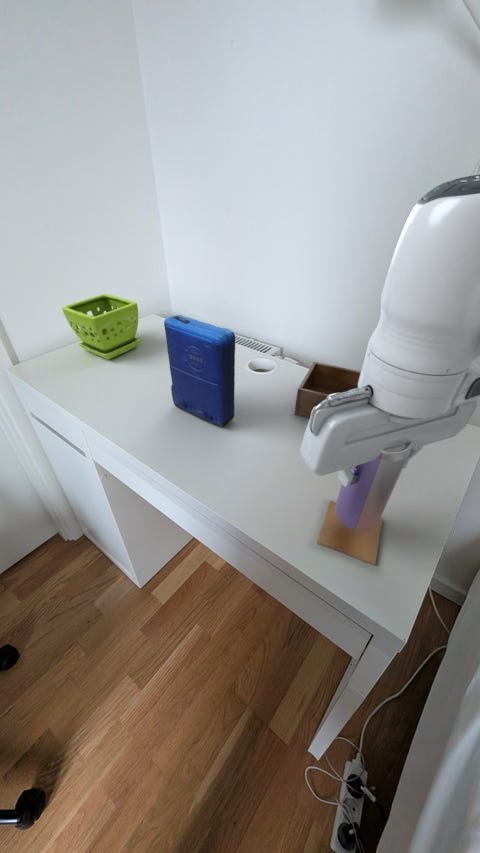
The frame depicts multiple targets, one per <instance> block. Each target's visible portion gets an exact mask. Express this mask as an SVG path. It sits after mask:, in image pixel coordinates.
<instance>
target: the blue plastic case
mask: <svg viewBox="0 0 480 853" xmlns="http://www.w3.org/2000/svg"><path fill="white" fill-rule="evenodd" d="M163 328H164V331H165V332H164V333H165V341H166V350H167V355H168V356H167V358H168V363H169V371H170V377H171V378H170V379H171V386H170V389H171V397H172V402H173V405H174V406H175V407H177V408H178V409H179V410H183V411H185V412H186V413H189V414H191V415H193V416H195V417H197V418H199V419H201V420H204V421H206V422H208V423H210V424H212V425H217V426H219V427H222V428H223V427H224V426H226V425H227V424H228V423H229V422H230V421H232V420H233V419H234V417H235V384H236V383H235V382H236V381H235V378H236V373H235V372H236V368H235V366H236V334H235V332H234V331H233V330H231V329H229V328H225V327H220V326H216V325H213V324H210V323H205V322H203V321H200V320H198V319H193V318H191V317H187V316H185V315H182V314H176V315H172V316H170V317H169V316H168V317H167V318H165V319H164V321H163Z"/></svg>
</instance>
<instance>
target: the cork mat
mask: <svg viewBox="0 0 480 853" xmlns="http://www.w3.org/2000/svg"><path fill="white" fill-rule="evenodd" d="M336 502H337V501H332V500H330V501H329V504H328V507H327V510H326V512H325V516H324V520H323V523H322V526H321V529H320V533H319V536H318V537H317V538H318V540H317V543H316V544H317V545H320V546H323V547H326V548H329V549H331V550H333V551H336V552H338V553H341V554H344V555H347V556H349V557H352V558H355V559H357V560H359V561H362V562H365V563H367V564H370V565H373V566H376V564H377V563H376V562H377V557H378V550H379V544H380V538H381V532H382V525H383V518H382V517H381V518H380V520H379V523H378V524H377V526H376V527H375V528H373V529H371V530H368V531H355V530H352V529H350V528H348V527H346V526H345V525H344V524H343V523H342V522H341V521H340V520H339V518H338V516H337V514H336V511H335V506H336Z"/></svg>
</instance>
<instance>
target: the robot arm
mask: <svg viewBox="0 0 480 853" xmlns="http://www.w3.org/2000/svg"><path fill="white" fill-rule="evenodd" d="M391 257H392V258H391V260H390V261H391V262H390V264H389V267H388V270H387V274H386V277H385V280H384V284H383V287H382V291H381V295H380V315H379V320H378V323H377V325H376V327H375V329H374V330H373V332H372V334H371V335H370V338H369V339H368V344H367V348H366V351H365V355H364V359H363V362H362V366H361V369H360V372H361V373H360V377H359V381H358V388H356V389H352V390H349V391H347V392H342V393H333V394H331V395H328V396H327V397H326V400H324V401H322V402H321V403H320V404H318V405H317V406H315V407H314V408H313V410H312V412H311V416H310V419H309V418H308V419H309V420H308V422H307V425H306V428H305V431H304V434H303V437H302V441H301V444H300V449H299V452H300V456H301V458H302V460H303V461H304V463H305V464H306V465H307V467H308V468H309V469H310V470H311V471H312V472H313V473H314V474H315V475H317V476H319V477H322V476H326V475H330V474H333V473H337V472H338V476H337V478H338V480H339V482H340V483H341V485H342V484H343V485H344V486H345V487H347V486H350V485H353V484H356V483H357V480H358V478H359V474H358V473H357V472H356V471H354V469H355V467H356V466H357V465H360V464H364V463H367V462H370V461H374V460H375V459H376V458H377V457H378V456H379V455H380V453H381V450H388V449H390V448H393V447H397V446H400V445H404V444H405V445H407V444H409V443H410V442H412V444H411V447H410V448H411V450H410V454H409V456H408V458H407V460H406V463H405V465H404V467H403V469H402V470H404V469H406V468H407V466H408V463H409V462H410V460H412V459H413V457H415V456H416V455H417V454H418V453H419V452H420V451H421V450H422V449H423V448H424V446H427V445H431V444H434V443H437V442H441V441H444V440H448V439H451V438H454V437H456V436H457V435H458V434H460V433H461V432H462V431H463V430H465V428H466V427H467V426H468V424H469V423H470V421H471V420H472V418H473V417H474V415H475V414H476V412H477V410H478V408H479V407H480V364H478V363H476V362H474V360H475V359H476V358H478V357H480V174H475V175H474V174H473V175H469V176H464V177H459V178H455V179H452V180H450V181H445V182H442V183H440V184H438V185H437V186H435V187H433V188H432V189H431V190H429V191H428V192H426V193H425V194H424V196H422V197H421V198H420V199H418V200H417V202H416V203H415V205H414V206H413V208H412V210H411V211H410V213H409V215H408V216H407V219H406V221H405V223H404V226H403V228H402V230H401V233H400V235H399V238H398V240H397V242H396V246H395V248H394V251H393V254H392V256H391Z"/></svg>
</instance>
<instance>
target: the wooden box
mask: <svg viewBox="0 0 480 853" xmlns="http://www.w3.org/2000/svg"><path fill="white" fill-rule="evenodd" d="M360 373H361V370H355V369H351V368H346V367H340V366H336V365H332V364H326V363H323V362H317V361H313V362H312V364H311V366H310V367H309V369H308V371H307V373H306V374H305V376H304V377H303V379H302V381H301V383H300V385H299V386H298V388H297V392H296V400H295V405H294V406H295V407H294V415H295V416H299V417H303V418H305V419H310V416H311V412H312V410H313V408H314V407H315V406H317V405H318V404H320V403H321V402H322V401H324V400H326V397H327V396H328V395H331V394H333V393H342V392H347V391H349V390H352V389H356V388H358V381H359V377H360Z"/></svg>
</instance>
